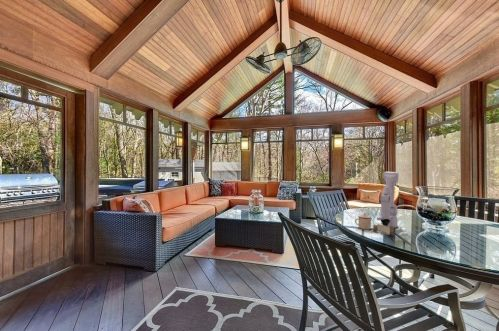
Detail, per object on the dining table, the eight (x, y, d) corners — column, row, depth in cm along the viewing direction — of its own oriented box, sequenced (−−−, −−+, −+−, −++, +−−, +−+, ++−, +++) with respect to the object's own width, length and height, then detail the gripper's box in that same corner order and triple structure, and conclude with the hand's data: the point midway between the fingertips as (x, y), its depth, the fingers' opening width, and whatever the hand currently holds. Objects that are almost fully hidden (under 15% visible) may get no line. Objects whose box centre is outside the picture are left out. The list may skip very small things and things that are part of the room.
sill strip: (375, 230, 179) (375, 230, 179) (389, 234, 169) (389, 234, 169) (374, 230, 178) (374, 230, 178) (388, 235, 168) (388, 234, 168)
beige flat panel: (391, 234, 169) (391, 227, 169) (389, 234, 168) (389, 227, 168) (378, 229, 180) (379, 223, 180) (377, 229, 180) (377, 223, 180)
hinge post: (391, 235, 169) (391, 225, 168) (394, 236, 167) (394, 226, 167) (389, 235, 168) (389, 226, 168) (392, 236, 166) (392, 226, 166)
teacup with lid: (367, 226, 191) (367, 211, 190) (373, 229, 181) (373, 214, 181) (352, 226, 191) (352, 211, 190) (357, 229, 182) (357, 214, 181)
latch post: (374, 230, 178) (374, 224, 178) (377, 231, 176) (377, 225, 176) (373, 231, 178) (373, 224, 177) (376, 232, 175) (376, 225, 175)
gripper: (387, 209, 182) (387, 226, 182) (373, 210, 177) (373, 228, 177) (396, 211, 175) (395, 229, 176) (381, 212, 170) (381, 231, 170)
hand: (385, 229), depth 176 cm, fingers closed
